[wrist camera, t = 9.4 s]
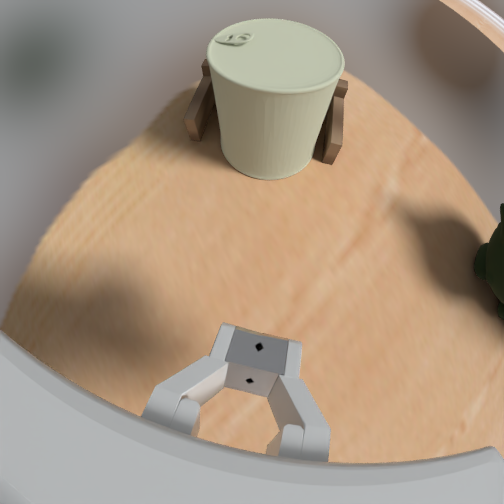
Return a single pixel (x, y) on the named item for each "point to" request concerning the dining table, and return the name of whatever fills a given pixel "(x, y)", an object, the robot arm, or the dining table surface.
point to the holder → (206, 99)
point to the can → (272, 93)
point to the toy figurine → (493, 263)
